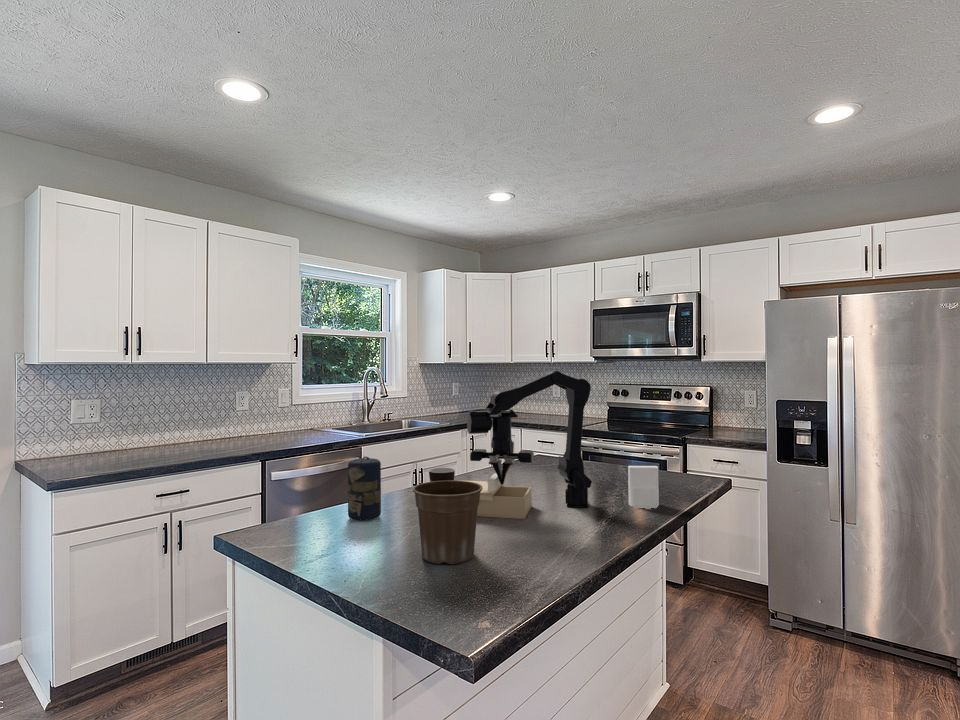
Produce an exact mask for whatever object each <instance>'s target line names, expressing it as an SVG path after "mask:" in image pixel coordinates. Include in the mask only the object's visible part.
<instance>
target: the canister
mask: <svg viewBox="0 0 960 720" xmlns="http://www.w3.org/2000/svg"><path fill="white" fill-rule="evenodd" d="M381 466H382V463H381V461H380V459H377V458H371V457H369V456H363V457H362V458H355V459H352V460H350V461H348V464H347V516H348V518H350V519H351V520H353V521H361V522H362V521H371V520H375V519H377V518H379V517H380V516H381V514H382V485H381V483H382V482H381V481H382V478H381V477H382V475H381V474H382V470H381V469H382V467H381Z"/></svg>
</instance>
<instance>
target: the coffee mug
mask: <svg viewBox="0 0 960 720" xmlns="http://www.w3.org/2000/svg"><path fill="white" fill-rule="evenodd" d="M455 472H456V469H455V468H452V467H433V468H431V469H428V477H429V482H432V481H446V480H455V474H456V473H455Z"/></svg>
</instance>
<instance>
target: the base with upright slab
mask: <svg viewBox="0 0 960 720" xmlns="http://www.w3.org/2000/svg"><path fill="white" fill-rule="evenodd" d="M627 471H628V473H627V478H628V482H627V483H628V485H627V486H628V506H629V505H630V507H631V506H633V507H632V508H634V507H637V508H636V509H639V508H645V509H644V510H652V509H651V508H654V509H658V508H659V507H658V506H660V505H659V504H660V502H659V501H660V500H659V498H660V497H659V495H660V494H659V487H660V486H659V466H658V465H628V466H627ZM657 507H658V508H657Z"/></svg>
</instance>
